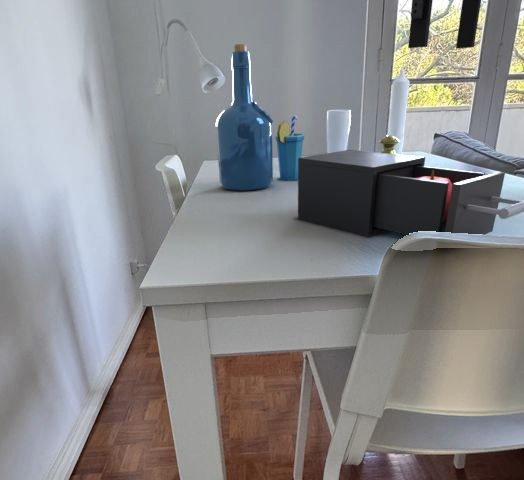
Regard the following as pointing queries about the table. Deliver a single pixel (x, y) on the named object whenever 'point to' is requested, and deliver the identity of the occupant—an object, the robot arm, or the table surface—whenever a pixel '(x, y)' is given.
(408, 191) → the drawer
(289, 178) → the cup
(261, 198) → the table surface
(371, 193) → the cabinet
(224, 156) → the wine bottle
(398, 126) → the candle
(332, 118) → the drinking glass
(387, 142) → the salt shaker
